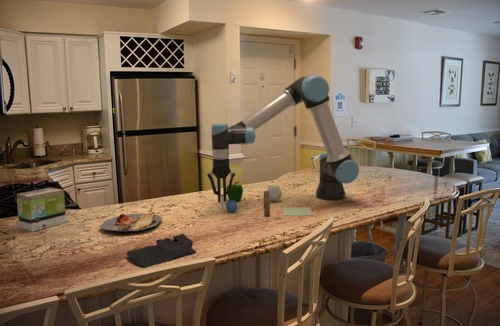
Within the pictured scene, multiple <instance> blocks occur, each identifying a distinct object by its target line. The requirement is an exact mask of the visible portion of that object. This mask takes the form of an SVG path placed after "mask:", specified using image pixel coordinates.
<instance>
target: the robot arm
mask: <svg viewBox="0 0 500 326" xmlns="http://www.w3.org/2000/svg"><path fill="white" fill-rule="evenodd" d="M329 92H330V86H329V82H328V81H327V80H326V79H325V78H324V77H323V76H321V75H317V74H316V75H315V74H312V75H305V76H302V77H299V78H298V79H296V80H295V81H294V82H292V83H291V84H289V85H288V86H286V87H285V88H284V89H283V91H282V93H280V94H279V95H277V96H276V97H274V98H273V99H271V100H270V101H269V102H267V103H266V104H264V105H263V106H261V107H260V108H258V109H257V110H255V111H253V112H252V113H251V114H249V115H248V116H246V117H245V118H243V119H242V120H241V121H239V122H237V123H236V124H233V125H230V126H229V125H228V123H213V124H212V125H211V147H212V148H211V149H212V150H211V152H212V153H211V154H212V155H211V156H212V158H213V159H212V169H211V171H210V172H208V173H207V174H206V175H207V177H208V179H209V181H210V185H211V189H212V192H213V194H214V195H217V203H219V204H220V210H222V211H224V210H225V203H227V199H228V197H227V196H228V195H227V194H230V191H231V186H232V185H233V180H234V177H235V176H236V172H233V171H231V168H230V158H229V157H230V145H248V144H254V143H255V141H256V130H257V129H259V128H260V127H262V126H263V125H265V124H267V123H268V122H270V121H271V120H272V119H275V117H276V116H278V115H280V114H281V113H283V112H284V111H287V109H288V108H290V107H296V106H297V105H298V104H300V103H303V104H304V107H305V109H306V110H308V111H310V113H311V115H312V119H313V121H314V123H315V126H316V128H317V131H318V135H319V136H320V140H321V141H322V143H323V148H324V149H325V152H326V153H325V152H324V153H321V154H320V155H319V183H318V186H317V188H316V191H315V197H316V198H318V199H322V200H328V201H330V200H331V201H333V200H334V201H335V200H342V199H345V198H346V191H345V187H344V184H351V183H353V182H354V181H355V180H357V178H358V176H359V173H360V166H359V164H358V163H357V162H356V161H355V160H353V158H352V155H351V152H350V151H349V150H347V149H346V148H345V146H344V144H343V143H344V142H343V140H342V138H341V135H340V133H339V130H338V127H337V124H336V122H335V119H334V116H333V114H332V112H331V108H330V106H329V102H330V100H331V99H330V96H329ZM213 176H214V177H215V178H216V183H217V186H216V184H215V181H214V180H215V179H214V177H213ZM228 176H229V177H230V178H229V182H228V185H229V187H228V191H227V189H226V188H227V178H228ZM221 179H222V183H221ZM221 184H222V189H221ZM216 187H217V188H216ZM221 190H222V192H223V193H221Z"/></svg>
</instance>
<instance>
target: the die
mask: <svg viewBox="0 0 500 326" xmlns="http://www.w3.org/2000/svg"><path fill="white" fill-rule="evenodd" d="M266 191H269V198H270V203H271V202H272V203H275V202H276V203H277V202H280V200H281V197H282V194H283V191H282V189H281V188H280V186H279V185H278V184H277V185H268V187H267V189H266Z"/></svg>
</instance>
